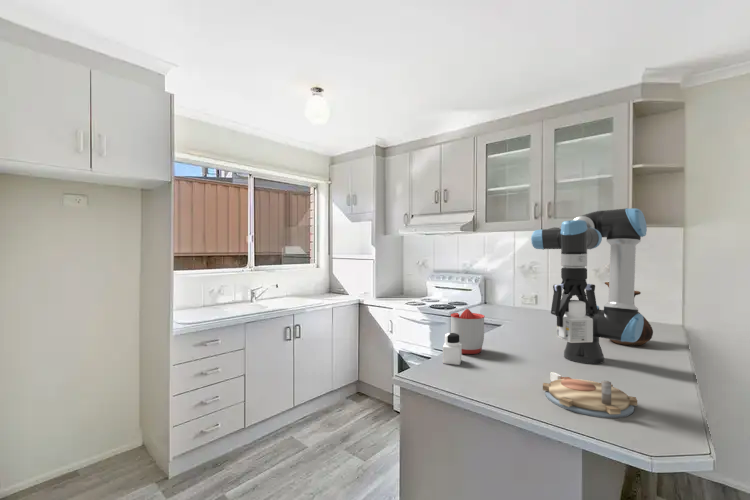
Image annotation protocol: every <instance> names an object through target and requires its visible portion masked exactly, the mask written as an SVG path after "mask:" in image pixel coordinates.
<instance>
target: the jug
mask: <svg viewBox="0 0 750 500" xmlns="http://www.w3.org/2000/svg"><path fill="white" fill-rule="evenodd" d="M604 284H605V286H607V287H608V288H609V282H608V281H605V282H604ZM641 293H642V292H641V291H639V290H634V299H635V297H636V296H638V295H641ZM638 313H640V312H639V311H638ZM643 318H644V319H643V320H644V325H643V330H642V333H641V336H640V338H639V339H638V340H637V341H636V342H625V341H624V342H622V341H618V340H612V339H609V340H610V342H613V343H615V344H618V345H623V346H642V345H644V344H646V343H647V342H650V340H652V339H653V334H654V330H653V327H652V325H651V324H650V322H649V321H648V320H647V319H646V317H645V316H644V315H643Z"/></svg>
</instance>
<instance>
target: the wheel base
mask: <svg viewBox="0 0 750 500" xmlns="http://www.w3.org/2000/svg"><path fill="white" fill-rule="evenodd" d="M549 377H550V379H549V380H550V382H552V381H554V380H559V379H561V377H563V376H562V375H560V374H559V373H556V372H555V371H552V372H550V375H549ZM545 397H546V398H547V399H548V401H550V402H551V403H553V404H555V405H556V406H558V407H561V408H563V409H565V410H567V411H569V412H570V411H571V412H574V413H577V414H581V415H585V416H590V417H596V418H608V419H609V418H610V419H611V418H613V419H615V418H624V417H628V416H631V415H632V414H633V413H634V412H635V405H630V406H629V407H628V408H627V409H625V410H621V414H609V413H607V412H606V411H595V410H589V409H584V408H579V407H576V406H570V407H568V406H565V405H563V404H560V403H559V400H558V399H556V398H555V397H553V396H552V395H551V394H550V393H549V391H545Z"/></svg>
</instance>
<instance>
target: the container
mask: <svg viewBox="0 0 750 500" xmlns="http://www.w3.org/2000/svg"><path fill="white" fill-rule="evenodd" d="M584 315H586V303H585V302H583V301H579V299H570V301H569V303H568V306H567V309H566V312H565V314H564V317H566V338H564V337H561V336H559V326H557V325H556V338H558V339H561V340H563V341H566V342H570V343H581V342H593V319H592V318H589V317H586V316H584Z"/></svg>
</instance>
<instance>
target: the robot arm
mask: <svg viewBox="0 0 750 500" xmlns="http://www.w3.org/2000/svg"><path fill="white" fill-rule="evenodd" d="M647 229H648V228H647V221H646V219H645V214H644V213H643V211H642V210H641V209H640V208H636V207H635V208H632V207H631V208H628V207H627V208H618V209H608V210H607V209H606V210H597V211H593V212H589V213H586V214H582V215H580V216H577V217H575V218H574V219H573V220H564V221H562V222H561V224H560V225H556V226H553V227H550V228H546V229H543V228H541V229H536V230H534V231H533V232H532V233H531V236H530V237H531V238H530V241H531V245H532V247H533V248H534V249H535V250H560V251H561V252H560V253H561V255H560V265H561V269H560V271H561V272H560V274H561V275H560V277H561V283H560V284H553V286H552V289H553V294H552V295H553V296H552V302H551V303H552V304H551V310H550V314H551V315H554V316H556V327H557V326H559V336H561V337H564V338H566V317H564V314H565V312H566V309H567V306H568V303H569V301H570V300H572V298H573V296H575V297H577V300H579V301H583V302H585V303H586V315H584V316H586V317H589V318H592V319H593V342H581V343H570V342H568V341H566V345H565V348H564V350H563V357H564V358H565V359H566V360H569V361H573V362H575V363H576V362H577V363H579V364H581V363H583V364H595V365H596V364H602V363H604V362H605V356H604V353H603V349H602V348H601V343H600V338H603V339H608V340H610V339H612V340H618V341H622V342H624V341H625V342H636V341H637V340H638V339H639V338H640V336H641V333H642V330H643V325H644V320H643V319H644V318H643V316H644V315H643V314H642V313H641V312H639V308H638V307H637V306H636V305H635V298H634V291H635V279H636V277H635V276H636V275H635V274H636V254H637V253H636V252H637V251H636V249H637V248H636V247H637V245H638V244H640V243H641V241H642V240H641V238H643V237H645V236H646V235H647ZM603 238H606V242H607V243H608V244H609V245H610V251H609V252H610V255H609V256H610V257H609V259H610V260H609V280H608V281H609V287H608V302H607V303H606V304H604V305H603V309H601V307H600V306H599V305H597V300H596V292H595V290H596V285H595V284H593V283H587V279H588V268H587V266H588V250H593V249H596V248H598V247H599V246H600V244H601V243H602V241H603ZM638 312H639V313H638Z"/></svg>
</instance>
